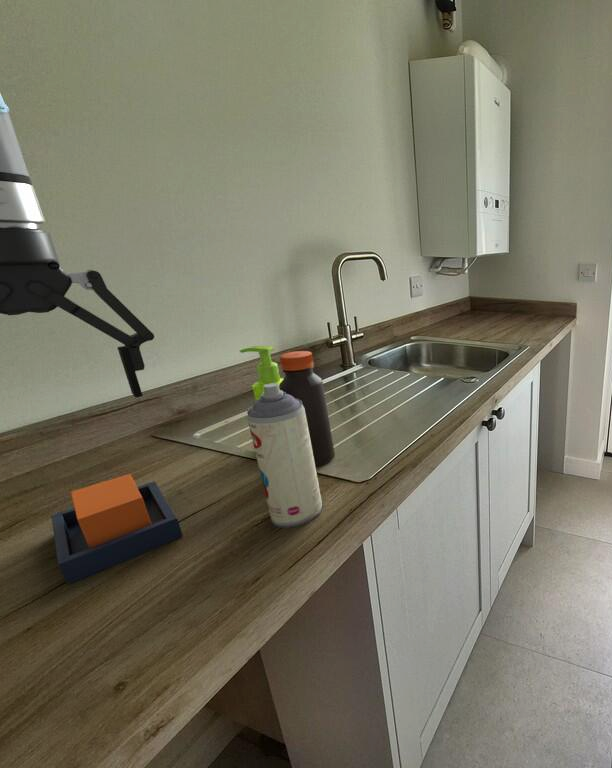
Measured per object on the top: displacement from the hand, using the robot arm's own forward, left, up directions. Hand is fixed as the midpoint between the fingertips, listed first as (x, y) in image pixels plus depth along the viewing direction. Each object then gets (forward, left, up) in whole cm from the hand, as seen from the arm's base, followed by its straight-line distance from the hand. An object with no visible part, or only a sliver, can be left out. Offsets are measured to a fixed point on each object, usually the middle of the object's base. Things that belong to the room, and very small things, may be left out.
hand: (65, 409), depth 51 cm
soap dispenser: (+6, +26, -19) cm, 33 cm away
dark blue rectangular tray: (+2, -1, -18) cm, 18 cm away
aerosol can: (+23, +7, -19) cm, 30 cm away
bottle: (+16, +22, -19) cm, 33 cm away
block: (+2, -1, -17) cm, 17 cm away
